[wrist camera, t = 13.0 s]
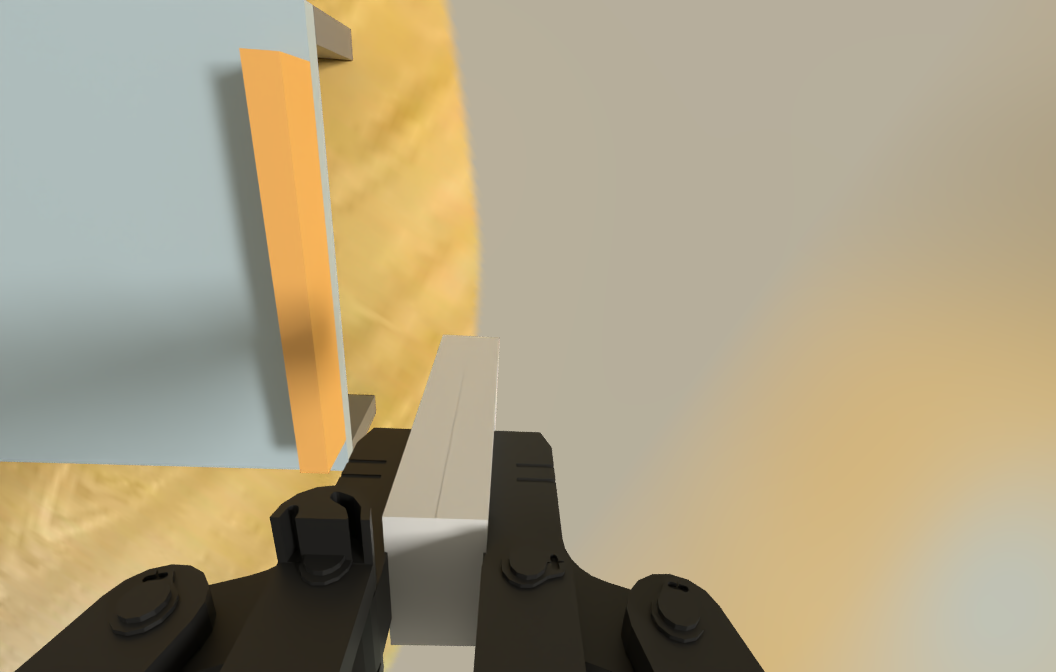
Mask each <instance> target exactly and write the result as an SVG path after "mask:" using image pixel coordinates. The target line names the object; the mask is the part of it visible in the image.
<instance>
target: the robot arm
mask: <svg viewBox="0 0 1056 672" xmlns="http://www.w3.org/2000/svg"><path fill="white" fill-rule="evenodd" d="M498 357H499V338H498V337H478V336H457V335H443V337H442V340H441V343H440V346H439V349H438V352H437V355H436V358H435V361H434V364H433V367H432V370H431V373H430V376H429V379H428V382H427V385H426V388H425V391H424V394H423V397H422V400H421V402H420V405H419V408H418V411H417V414H416V417H415V420H414V423H413V426H412V429H394V428H373V429H372V430H371V431H370V432H369V433H367V434H366V435H365V436H364V437H363V438H361V439H360V440H359V441H358V442H357V443H356V445H355V447H354V449H353V451H352V453H351V455H350V457H349V461H348V463H346V466H345V468H344V470H343V472H342V474H341V477H340V478H339V480H338V482H337V484H336V485H335V486H325V487H316V488H314V489H311V490H308V491H305V492H302V493H299V494H297V495H295V496H294V497H292V498H290V499H289V500H287V501H286V502H284V503H282V504H281V505H280V506H279V508H278V509H277V510H276V511H275V512H274V513H273V514H272V515H271V516H270V521H271V527H272V532H273V537H274V543H275V548H276V554H277V559H278V564H277V565H276V566H275V567H273V568H271V569H269V570H266V571H263V572H260V573H257V574H254V575H250V576H246V577H242V578H237V579H233V580H229V581H225V582H220V583H216V584H212V585H208V582H207V580H206V577H205V575H204V573H203V572H202V571H200V570H198V569H196V568H194V567H192V566H190V565H173V564H172V565H167V566H162V567H158V568H153V569H149V570H147V571H144V572H142V573H140V574H138V575H136V576H133V577H131V578H129V579H127V580H125V581H123V582H122V583H120V584H119V585H118V586H116V587H115V588H113V589H112V590H110V591H109V592H108V593H106V594H105V595H103V596H102V597H101V598H100V599H99V600H97V601H96V602H95V603H94V604H93V605H92V606H90V607H89V608H88V609H87V610H86V611H85V612H83V613H82V614H81V615H80V616H79V617H78V618H76V619H75V620H74V621H73V622H72V623H71V624H69V625H68V626H67V627H66V628H65V629H64V630H62V631H61V632H60V633H59V634H58V635H57V636H55V637H54V638H53V639H52V640H51V641H50V642H48V643H47V644H46V645H45V646H44V647H43V648H42V649H40V650H39V651H38V652H37V653H36V654H35V655H33V656H32V657H31V658H30V659H29V660H28V661H26V662H25V663H24V664H23V665H22V666H21V667H19V668H18V669H17V670H16V671H15V672H383V669H384V665H383V652H384V648H385V644H386V640H387V636H388V632H389V628H390V638H391V645H440V646H442V645H443V646H445V645H446V646H476V647H475V660H474V672H764V670H763V669H762V667H761V666H760V665H759V663H758V661H757V660H756V659H755V657H754V656H753V654H752V653H751V651H750V650H749V648H748V647H747V645H746V644H745V643H744V641H743V640H742V638H741V637H740V635H739V634H738V633H737V631H736V629H735V628H734V627H733V625H732V624H731V622H730V621H729V619H728V618H727V616H726V615H725V614H724V612H723V611H722V609H721V608H720V606H719V605H718V604H717V603H716V602H715V601H714V600H713V599H712V597H711V596H710V595H709V594H708V593H707V592H706V591H705V590H703V589H702V588H700V587H699V586H697V585H696V584H694V583H692V582H691V581H689V580H687V579H684V578H680V577H677V576H674V575H671V574H652V575H650V576H647V577H645V578H643V579H640V580H638V581H637V583H636V584H635V585H634V586H633V588H632V589H631V590H630V589H627V588H624V587H621V586H618V585H614V584H611V583H608V582H605V581H603V580H600V579H598V578H596V577H593V576H591V575H590V574H588V573H587V572H585V571H584V570H582V569H581V568H579V566H578V565H577V564H576V563H574V561H573V560H572V559H571V558H570V556H569V554H568V553H567V551H566V549H565V547H564V543H563V539H562V532H561V524H560V515H559V508H558V507H559V506H558V498H557V489H556V483H555V473H554V468H553V456H552V448H551V446H550V445H549V444H548V442H547V441H546V440H545V438H544V437H543V436H542V434H541V433H539V432H514V431H513V432H512V431H495V424H496V403H497V381H498V379H497V378H498V359H499V358H498Z"/></svg>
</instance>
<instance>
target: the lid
mask: <svg viewBox="0 0 1056 672" xmlns="http://www.w3.org/2000/svg"><path fill="white" fill-rule="evenodd" d="M352 451H353V446H352V435H351V424H350V413H349V401H348V390H347V379H346V368H345V357H344V346H343V335H342V324H341V313H340V302H339V291H338V280H337V269H336V258H335V246H334V235H333V224H332V213H331V202H330V191H329V180H328V169H327V158H326V147H325V136H324V125H323V114H322V103H321V91H320V80H319V69H318V58H317V47H316V36H315V25H314V14H313V5H312V4H310V3H309V2H307V1H306V0H0V461H7V462H43V463H80V464H117V465H153V466H190V467H227V468H263V469H300V473H329V472H330V470H336V471H343V470H344V468H345V466H346V463H348V461H349V457H350V455H351V453H352Z"/></svg>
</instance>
